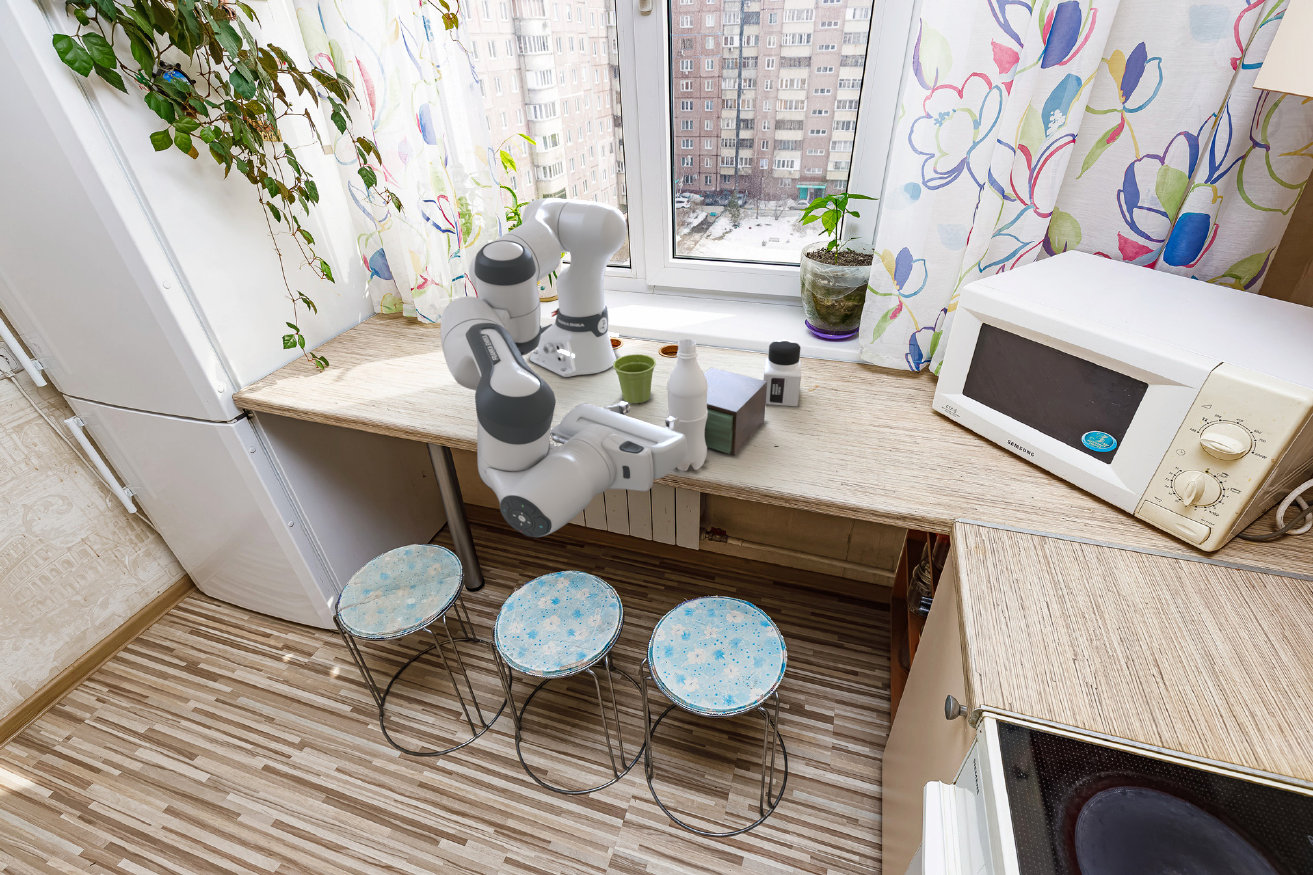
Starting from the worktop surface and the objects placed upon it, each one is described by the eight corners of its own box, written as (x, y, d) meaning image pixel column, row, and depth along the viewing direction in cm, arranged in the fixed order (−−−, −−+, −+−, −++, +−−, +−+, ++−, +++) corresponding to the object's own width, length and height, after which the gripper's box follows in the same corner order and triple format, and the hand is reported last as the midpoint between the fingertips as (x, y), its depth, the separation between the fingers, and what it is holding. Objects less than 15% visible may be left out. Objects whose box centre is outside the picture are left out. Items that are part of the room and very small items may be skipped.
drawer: (726, 457, 114) (727, 421, 110) (674, 440, 120) (673, 405, 115) (757, 423, 124) (759, 389, 119) (707, 409, 129) (707, 376, 125)
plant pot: (607, 399, 136) (604, 364, 131) (636, 383, 142) (634, 350, 137) (636, 412, 131) (634, 377, 126) (665, 396, 136) (664, 361, 132)
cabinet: (734, 455, 116) (736, 412, 111) (677, 437, 122) (677, 395, 117) (764, 422, 126) (767, 381, 120) (710, 407, 132) (711, 367, 126)
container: (797, 407, 130) (803, 352, 123) (761, 404, 132) (765, 350, 125) (797, 390, 137) (803, 337, 130) (763, 387, 138) (767, 335, 131)
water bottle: (687, 448, 119) (686, 330, 105) (714, 462, 114) (717, 341, 100) (661, 464, 115) (656, 343, 101) (688, 479, 110) (687, 355, 96)
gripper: (546, 453, 94) (600, 413, 103) (656, 495, 84) (705, 446, 94) (540, 418, 90) (597, 380, 100) (655, 458, 80) (705, 412, 90)
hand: (650, 413), depth 96 cm, fingers open, 8 cm apart
